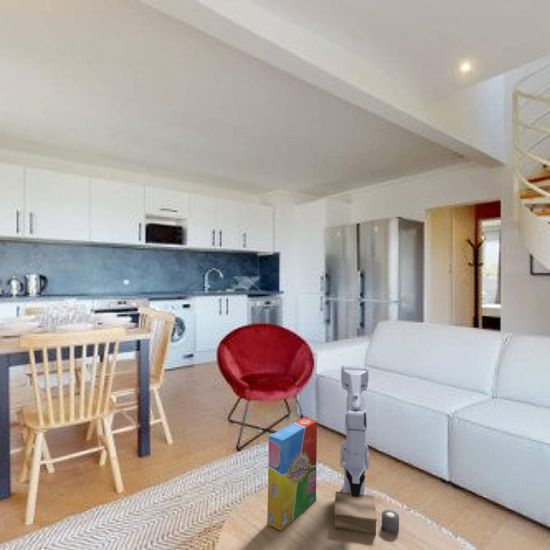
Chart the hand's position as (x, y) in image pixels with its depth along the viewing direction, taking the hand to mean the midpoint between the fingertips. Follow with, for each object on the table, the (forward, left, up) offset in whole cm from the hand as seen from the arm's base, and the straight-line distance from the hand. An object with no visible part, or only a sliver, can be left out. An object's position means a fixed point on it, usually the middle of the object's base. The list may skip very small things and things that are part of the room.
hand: (355, 494), depth 114 cm
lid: (-3, 0, -5) cm, 6 cm away
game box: (-3, -20, -10) cm, 22 cm away
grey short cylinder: (-1, +10, -9) cm, 14 cm away
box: (-3, 0, -9) cm, 10 cm away
